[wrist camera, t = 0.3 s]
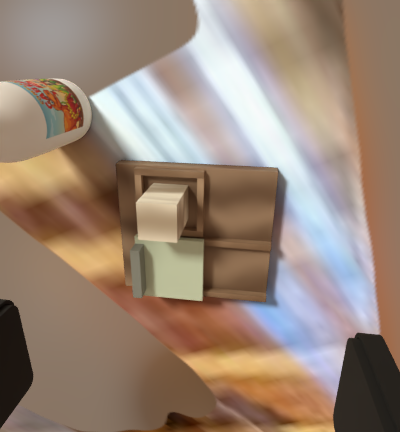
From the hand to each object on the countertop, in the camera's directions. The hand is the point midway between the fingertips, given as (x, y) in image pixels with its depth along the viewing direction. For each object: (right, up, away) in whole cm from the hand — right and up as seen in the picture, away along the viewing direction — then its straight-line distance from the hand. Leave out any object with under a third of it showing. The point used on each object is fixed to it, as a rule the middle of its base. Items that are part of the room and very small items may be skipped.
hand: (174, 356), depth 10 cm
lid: (-3, -3, +38) cm, 38 cm away
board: (0, +2, +38) cm, 38 cm away
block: (-3, +6, +35) cm, 36 cm away
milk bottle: (-16, +17, +35) cm, 42 cm away
